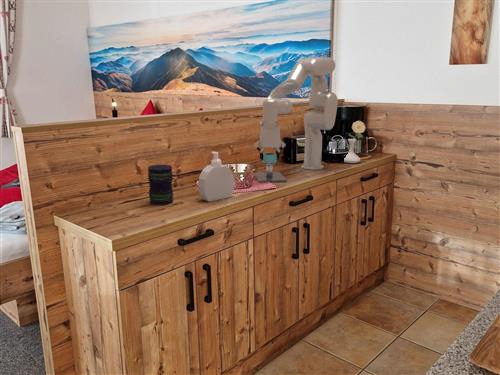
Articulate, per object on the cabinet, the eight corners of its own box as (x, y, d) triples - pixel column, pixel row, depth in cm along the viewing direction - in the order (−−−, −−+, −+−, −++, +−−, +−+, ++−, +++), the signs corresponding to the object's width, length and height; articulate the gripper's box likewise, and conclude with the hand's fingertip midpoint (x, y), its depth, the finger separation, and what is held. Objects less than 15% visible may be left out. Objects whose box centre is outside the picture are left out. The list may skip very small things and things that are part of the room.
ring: (261, 160, 238) (261, 152, 237) (274, 160, 239) (275, 152, 238) (263, 163, 231) (263, 155, 230) (277, 162, 232) (277, 154, 231)
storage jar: (147, 200, 196) (145, 165, 192) (170, 198, 199) (169, 163, 196) (151, 206, 187) (149, 170, 183) (175, 204, 190) (174, 168, 187)
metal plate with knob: (252, 174, 246) (252, 161, 244) (278, 173, 248) (279, 160, 246) (259, 183, 227) (259, 168, 225) (287, 182, 229) (287, 168, 227)
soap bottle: (227, 194, 206) (227, 149, 201) (234, 196, 202) (234, 151, 197) (197, 200, 196) (196, 153, 191) (204, 202, 192) (203, 155, 187)
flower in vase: (340, 163, 275) (342, 121, 269) (342, 160, 285) (344, 119, 279) (362, 165, 271) (365, 122, 265) (363, 161, 282) (366, 120, 276)
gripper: (254, 125, 226) (253, 161, 230) (288, 125, 228) (287, 161, 232) (251, 124, 233) (251, 159, 237) (285, 123, 235) (284, 158, 240)
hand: (269, 159), depth 235 cm, fingers closed on ring, 7 cm apart
